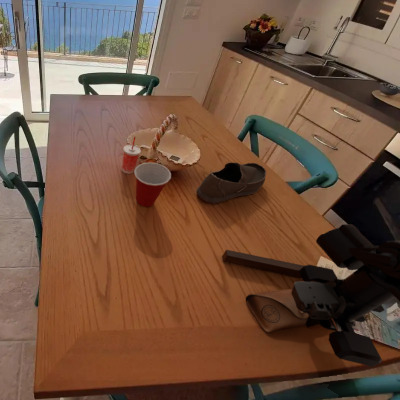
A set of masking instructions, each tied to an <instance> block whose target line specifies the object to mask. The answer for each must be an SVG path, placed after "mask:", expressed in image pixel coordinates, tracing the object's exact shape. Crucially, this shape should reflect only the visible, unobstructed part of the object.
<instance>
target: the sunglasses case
mask: <svg viewBox="0 0 400 400" xmlns="http://www.w3.org/2000/svg"><path fill="white" fill-rule="evenodd" d="M292 289H293V288H288V289H287V288H286V289H278V290H270V291H269V290H268V291H262V292H257V293H251V294H250V293H249V294H248V295H247V296H246V297H245V303H246V305H247V307H248V309H249V310H250V312H251V314H252V315H253V317H254V318H255V319H256V321H257V322H258V324H259V325H260V327H261V329H263V331H265V332H266V333H268V334H269V333H273V332H276V331H279V330H280V331H281V330H283V329H284V330H285V329H289V328H296V327H304V326H305V327H306V325H305V324H306V321H307V319H308V316H309V315H308V314H307V313H304V312H302V311H300V310H299V309H298V308H297V307H296V303H295V301H294V298H293V296H292V294H291V292H292Z"/></svg>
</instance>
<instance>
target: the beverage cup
mask: <svg viewBox="0 0 400 400" xmlns="http://www.w3.org/2000/svg"><path fill="white" fill-rule="evenodd" d="M135 141H136V136H135V135H134V136H133V141H132V144H126V145H124V146H123V149H122V150H123V154H122V155H123V156H122V163H121V164H122V165H121V171H122V173H124V174H129V175H130V174H134V172H135V168H136V167H137V166H136V165H137V163H138V159H139V155H140V154H141V152H142V151H141V148H140V147H139V146H138V145H135Z"/></svg>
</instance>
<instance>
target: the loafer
mask: <svg viewBox="0 0 400 400" xmlns="http://www.w3.org/2000/svg"><path fill="white" fill-rule="evenodd" d="M266 176H267V170H266V168H265V167H264V166H263V165H261V164H259V163H257V162H247V163H244V164H241V163H239V162H232V161H229V162H226V163H225V164H224V167H223V168H222V169H220V170H215V171H210V172H209V174H208V175H206V176H205V178H204V179H203V180H202V182H201V183H200V186H198V188H196V191H195V192H196V195H197V196H198V197H199V198H200V199H201V200H203V201H204V202H206V203H209V204H219V203H223V202H225V201H226V202H227V201H229V200H231V199H234V198H237V197H245V196H251V195H254V194H255V193H257V192H258V191H259V190H261V188H262V187H263V185H264V183H265V181H266Z"/></svg>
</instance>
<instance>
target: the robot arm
mask: <svg viewBox="0 0 400 400" xmlns="http://www.w3.org/2000/svg"><path fill="white" fill-rule="evenodd" d="M315 243H316V244H317V246H318V247H320V249H321V250H322V251H323V252H324V253H325V254H326V255H327V257H328V258H329V259H330V260H331V261H332V262H333V263H334V265H335V266H336V267H337V268H339V269H346V270H349V271H353V272H352V273H350V275H348V276H346V277H345V278H344V279H340V278H338V277H337V275H336V273H335V271H334V269H332V268H328V267H323V266H319V265H314V264H305V265H303V266H304V267H302V268H301V269H300V270H299V273H300V275H301V278H302V279H301V281H299V280H298V281H297V280H296V281H294V283H293V286H292V288H291V289H292V292H291V294H292V296H293V298H294V301H295V303H296V307H297V308H298V309H299V310H300V311H302V312H304V313H307V314H308V315H309V316H308V319H307V321H306V324H305V327H306V329H310V330H321V329H325V330H327V331H332V332H330V333H329V334H328V342H329V344H330V346H331V349H332V351H333V353H334V355H335V356H336V357H337V358H338V359H340V360H343V361H347V362H352V363H355V364H360V365H362V366H363V365H364V366H367V367H368V366H369V367H372V368H373V367H375V366H377V365H379V364H381V363H382V362H383V359H382V357H381V355H380V353H379V352H378V350H377V348H376V346H375V343H374V342H373V340H372V339H371V337H370V336H367V335H364V334H363V335H362V334H359V333H356V332H355V330H357V331H359V330H360V327H359V324H358V323H357V322H359V323H364V322H365V321H367V319H366V317H365V315H367V314H370V312H375V313H382V312H384V311H385V308H384V307H383V305H384V304H386V303H388V302H389V301H391V300H393V299H397V301H399V302H400V240H387V241H385V242H383V243H381V244H380V245H374V244H373V243H372V242H370V240H369V239H367V238H366V237H365V236H364V235H363V234H362V233H361V232H360V230H359V229H358V228H357V226H355V225H354V224H343V223H342V224H341V225H340V226H339V227H336V228H333V229H331V230H328V231H326V232H324V233H321V234H320V235H319V236H318V237H317V238H316V239H315ZM312 280H313V281H312ZM314 281H317V282H314Z"/></svg>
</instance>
